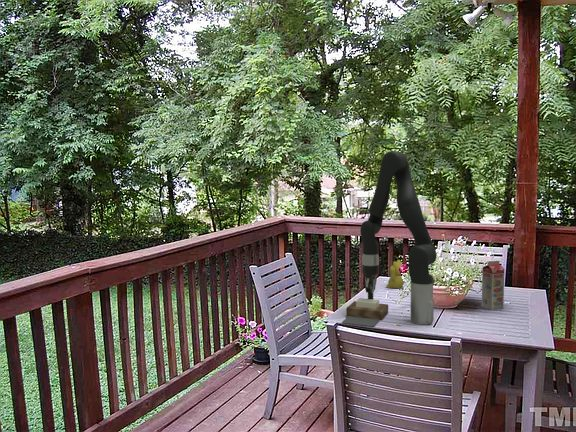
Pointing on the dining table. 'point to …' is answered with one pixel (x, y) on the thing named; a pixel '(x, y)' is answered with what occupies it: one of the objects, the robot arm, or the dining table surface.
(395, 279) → the figurine
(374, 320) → the mat
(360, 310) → the brown flat block
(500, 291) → the juice carton
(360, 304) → the tile
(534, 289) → the dining table surface
